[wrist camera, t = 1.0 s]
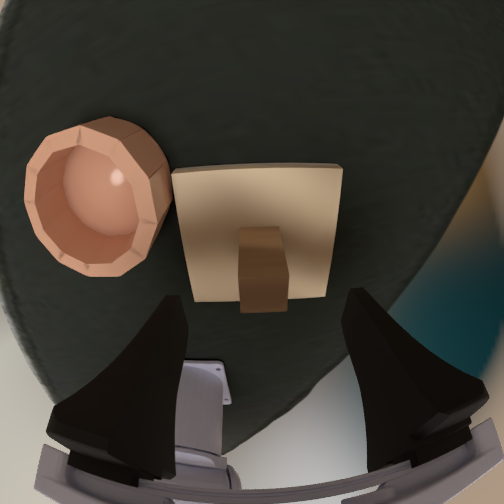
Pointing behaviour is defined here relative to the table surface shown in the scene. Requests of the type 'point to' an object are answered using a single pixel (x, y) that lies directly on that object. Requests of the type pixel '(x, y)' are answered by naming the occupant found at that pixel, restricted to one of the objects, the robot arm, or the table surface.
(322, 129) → the table surface
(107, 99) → the table surface
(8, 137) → the table surface
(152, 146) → the bowl
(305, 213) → the board
